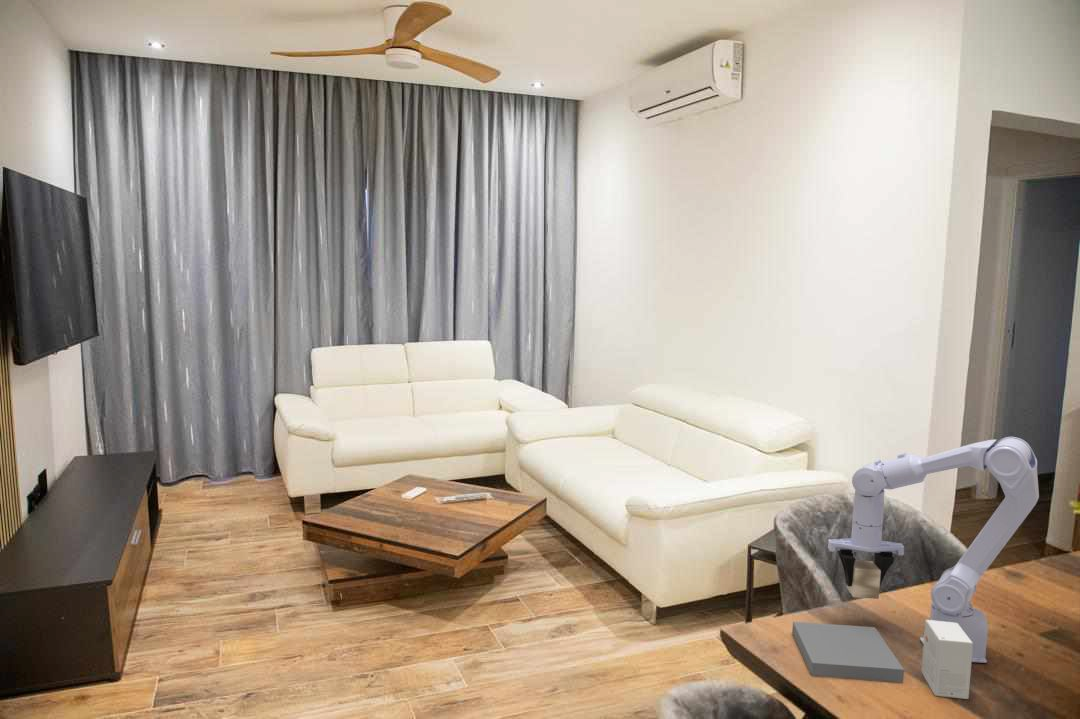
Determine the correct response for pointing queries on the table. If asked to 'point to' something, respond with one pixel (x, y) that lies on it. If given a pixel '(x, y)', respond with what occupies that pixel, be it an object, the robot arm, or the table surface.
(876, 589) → the maple block
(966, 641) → the small box
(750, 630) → the table surface
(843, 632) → the slate plinth
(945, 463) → the robot arm
